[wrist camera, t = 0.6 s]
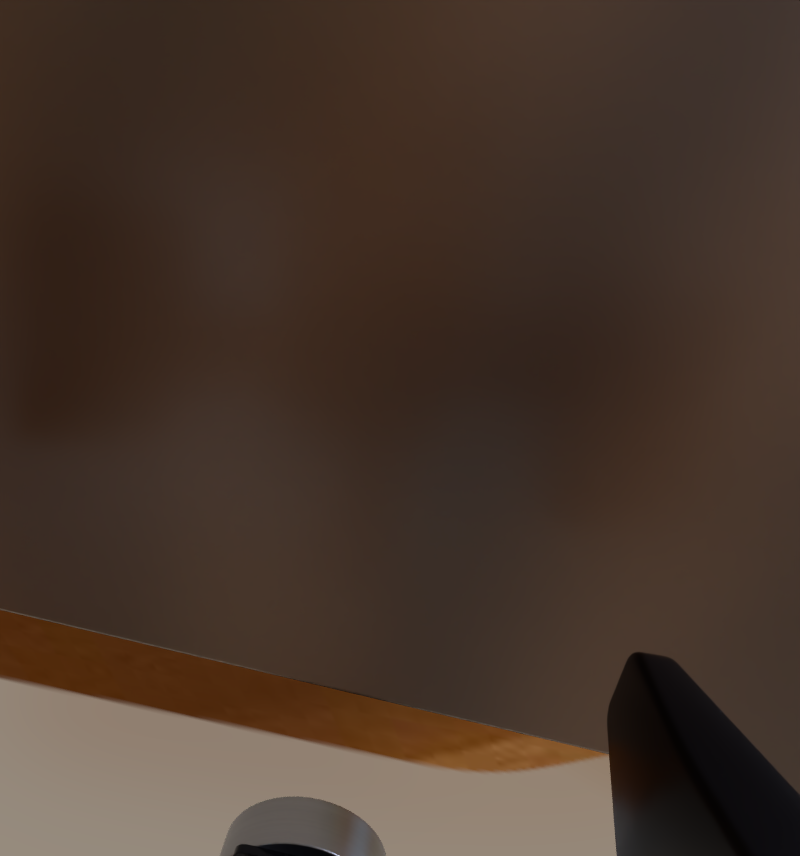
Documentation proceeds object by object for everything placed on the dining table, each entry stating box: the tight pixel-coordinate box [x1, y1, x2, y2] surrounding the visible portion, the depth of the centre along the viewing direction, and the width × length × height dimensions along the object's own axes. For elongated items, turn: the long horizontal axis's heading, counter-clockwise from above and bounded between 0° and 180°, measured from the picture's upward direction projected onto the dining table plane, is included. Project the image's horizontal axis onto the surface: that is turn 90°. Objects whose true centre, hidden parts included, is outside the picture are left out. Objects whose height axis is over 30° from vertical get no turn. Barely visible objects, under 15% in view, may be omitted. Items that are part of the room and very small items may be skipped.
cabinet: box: [0, 0, 800, 794], centre depth 13 cm, size 15×13×10 cm
